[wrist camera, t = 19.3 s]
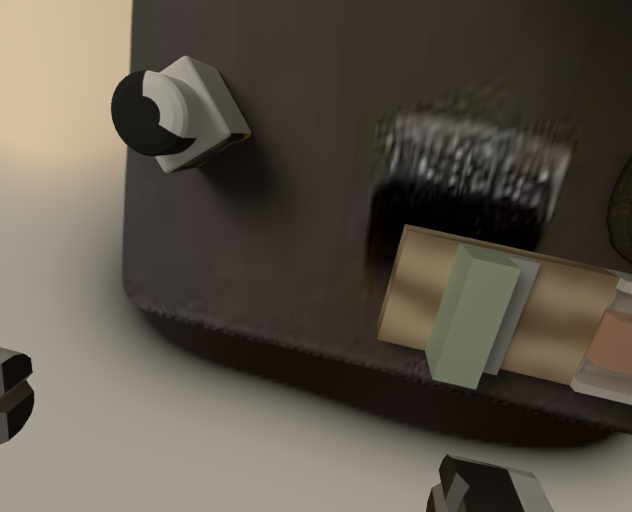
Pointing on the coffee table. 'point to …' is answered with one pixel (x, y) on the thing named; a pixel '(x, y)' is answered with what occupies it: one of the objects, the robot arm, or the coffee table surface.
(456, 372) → the grey-green boxy piece
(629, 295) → the box
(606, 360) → the tile
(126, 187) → the coffee table surface
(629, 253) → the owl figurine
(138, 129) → the medicine bottle
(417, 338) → the board
